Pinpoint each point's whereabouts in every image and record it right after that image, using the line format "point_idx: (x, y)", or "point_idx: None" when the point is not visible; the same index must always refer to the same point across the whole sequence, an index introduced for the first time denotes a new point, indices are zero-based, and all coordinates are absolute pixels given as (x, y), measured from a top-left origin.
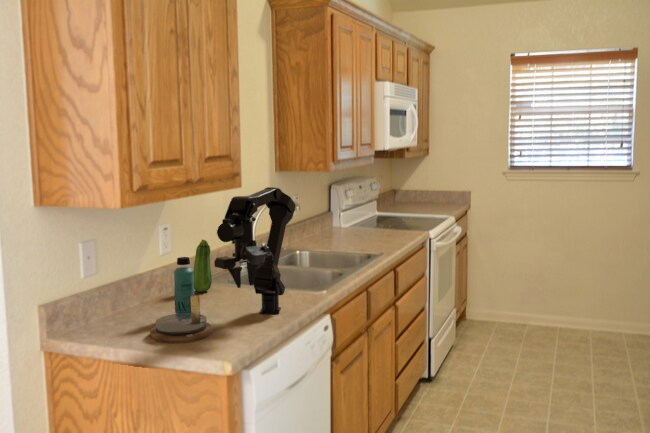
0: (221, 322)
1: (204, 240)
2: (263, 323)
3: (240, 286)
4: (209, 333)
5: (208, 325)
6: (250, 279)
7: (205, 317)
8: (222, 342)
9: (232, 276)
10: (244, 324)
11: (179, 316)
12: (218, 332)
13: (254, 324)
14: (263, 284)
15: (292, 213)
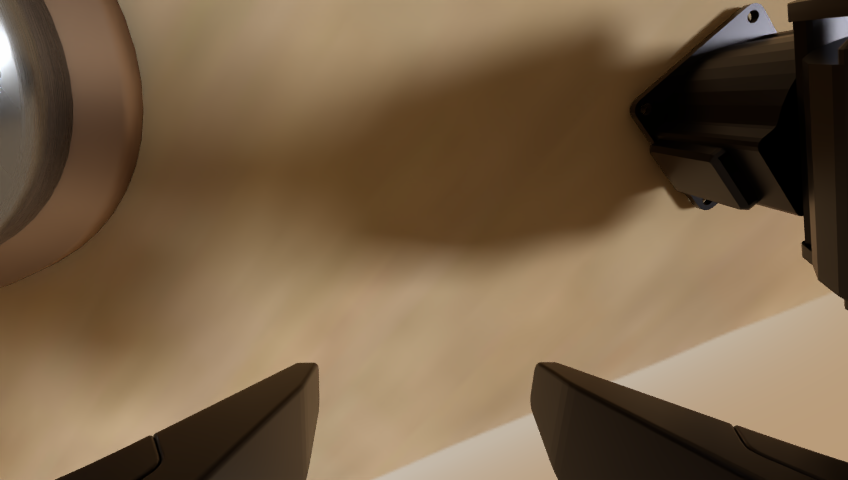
0: (297, 56)
1: None
2: (484, 294)
3: (313, 426)
4: (59, 259)
5: (92, 159)
6: (572, 445)
7: (8, 165)
8: (78, 409)
9: (132, 460)
10: (387, 225)
11: None
12: (152, 243)
13: (432, 271)
14: (846, 212)
15: None
